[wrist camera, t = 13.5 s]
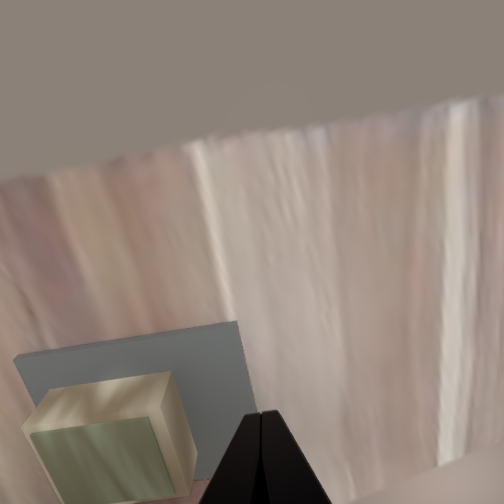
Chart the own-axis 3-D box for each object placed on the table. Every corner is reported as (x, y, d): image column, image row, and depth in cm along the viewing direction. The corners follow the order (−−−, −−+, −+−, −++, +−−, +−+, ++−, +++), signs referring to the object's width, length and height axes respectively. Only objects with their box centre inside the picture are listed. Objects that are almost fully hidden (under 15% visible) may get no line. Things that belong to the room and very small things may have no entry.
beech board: (159, 409, 19) (18, 430, 20) (190, 499, 22) (64, 515, 22) (171, 370, 22) (49, 389, 23) (197, 452, 25) (86, 468, 25)
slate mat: (236, 320, 22) (236, 325, 21) (268, 464, 26) (269, 470, 25) (18, 355, 22) (12, 360, 22) (82, 488, 27) (79, 495, 26)
